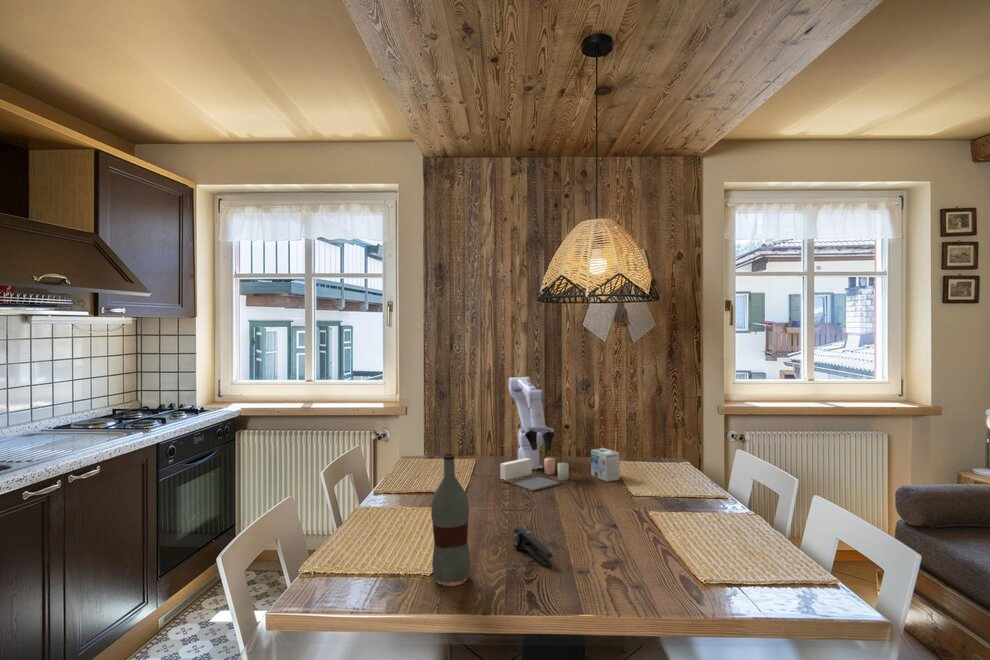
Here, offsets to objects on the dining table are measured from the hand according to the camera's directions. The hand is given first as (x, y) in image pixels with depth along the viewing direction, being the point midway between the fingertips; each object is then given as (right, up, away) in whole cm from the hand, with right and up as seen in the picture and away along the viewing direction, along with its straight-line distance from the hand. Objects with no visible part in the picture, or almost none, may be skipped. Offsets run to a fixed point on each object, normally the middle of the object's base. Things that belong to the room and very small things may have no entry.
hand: (541, 450), depth 212 cm
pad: (-4, -11, -9) cm, 15 cm away
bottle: (-30, -11, -87) cm, 92 cm away
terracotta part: (+4, -11, +7) cm, 14 cm away
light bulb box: (+26, -11, -1) cm, 28 cm away
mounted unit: (-10, -12, 0) cm, 16 cm away
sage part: (+9, -11, -2) cm, 14 cm away
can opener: (-9, -11, -74) cm, 75 cm away
